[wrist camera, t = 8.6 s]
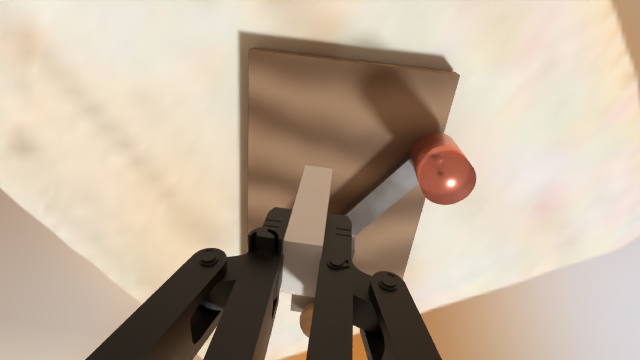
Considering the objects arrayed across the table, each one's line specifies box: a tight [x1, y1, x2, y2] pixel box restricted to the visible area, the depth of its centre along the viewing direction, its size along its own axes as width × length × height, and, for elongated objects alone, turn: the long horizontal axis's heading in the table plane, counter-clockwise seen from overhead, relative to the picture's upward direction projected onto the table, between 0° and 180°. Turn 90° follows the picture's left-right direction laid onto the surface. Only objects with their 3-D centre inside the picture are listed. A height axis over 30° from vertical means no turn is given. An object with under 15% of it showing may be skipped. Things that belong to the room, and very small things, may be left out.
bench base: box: [248, 48, 460, 337], centre depth 32 cm, size 26×18×10 cm
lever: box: [340, 133, 476, 259], centre depth 32 cm, size 20×6×7 cm, turn 139°
